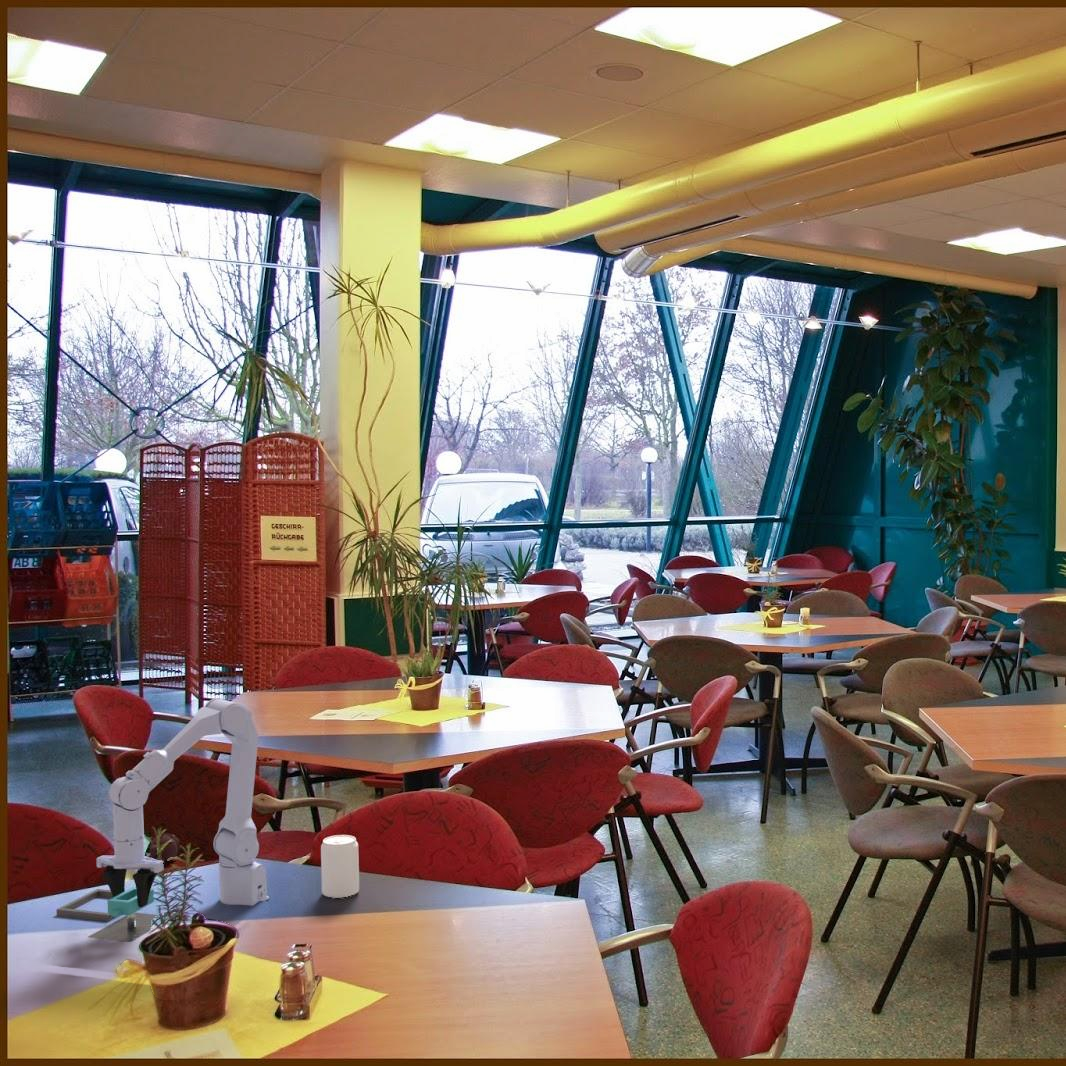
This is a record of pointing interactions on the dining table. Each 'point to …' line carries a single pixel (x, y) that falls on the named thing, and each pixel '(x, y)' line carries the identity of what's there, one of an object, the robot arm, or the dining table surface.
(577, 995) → the dining table surface
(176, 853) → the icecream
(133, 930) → the stand
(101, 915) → the tray
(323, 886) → the beverage can
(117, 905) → the teal open-top box
